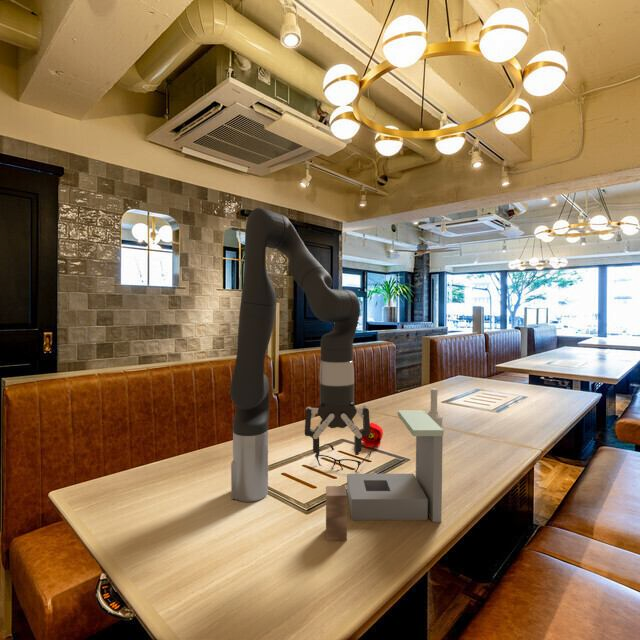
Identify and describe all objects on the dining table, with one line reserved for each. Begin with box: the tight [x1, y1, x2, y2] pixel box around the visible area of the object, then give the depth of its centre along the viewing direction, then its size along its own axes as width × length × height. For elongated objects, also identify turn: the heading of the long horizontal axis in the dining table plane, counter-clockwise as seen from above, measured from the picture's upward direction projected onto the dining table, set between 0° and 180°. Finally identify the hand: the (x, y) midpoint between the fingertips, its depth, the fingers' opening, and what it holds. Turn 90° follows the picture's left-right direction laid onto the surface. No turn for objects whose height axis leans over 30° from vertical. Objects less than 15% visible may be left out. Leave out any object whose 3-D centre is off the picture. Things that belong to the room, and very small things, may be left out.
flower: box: [362, 422, 384, 448], centre depth 144 cm, size 8×8×8 cm
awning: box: [397, 409, 444, 523], centre depth 100 cm, size 7×17×22 cm, turn 1°
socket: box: [346, 473, 428, 521], centre depth 100 cm, size 18×14×5 cm
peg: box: [325, 485, 348, 542], centre depth 87 cm, size 4×4×10 cm
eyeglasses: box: [314, 443, 373, 472], centre depth 129 cm, size 16×16×4 cm
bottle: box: [426, 387, 443, 429], centre depth 122 cm, size 5×5×25 cm
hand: (337, 454), depth 87 cm, fingers open, 8 cm apart
